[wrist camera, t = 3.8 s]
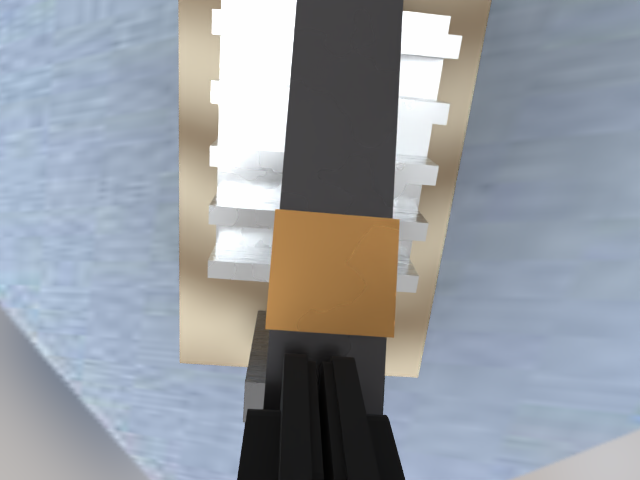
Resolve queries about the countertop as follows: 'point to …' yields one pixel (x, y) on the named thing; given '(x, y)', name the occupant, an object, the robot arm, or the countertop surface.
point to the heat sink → (269, 142)
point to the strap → (338, 195)
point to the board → (201, 187)
